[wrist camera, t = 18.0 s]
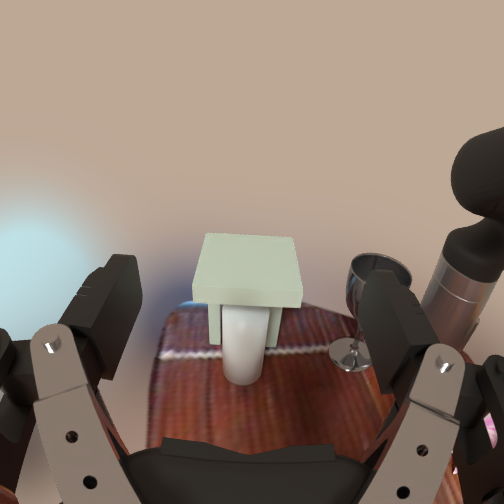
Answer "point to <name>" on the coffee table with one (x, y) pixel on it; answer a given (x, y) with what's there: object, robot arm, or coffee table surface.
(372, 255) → the wine glass
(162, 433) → the coffee table surface
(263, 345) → the white plastic cylinder
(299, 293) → the small green stool
